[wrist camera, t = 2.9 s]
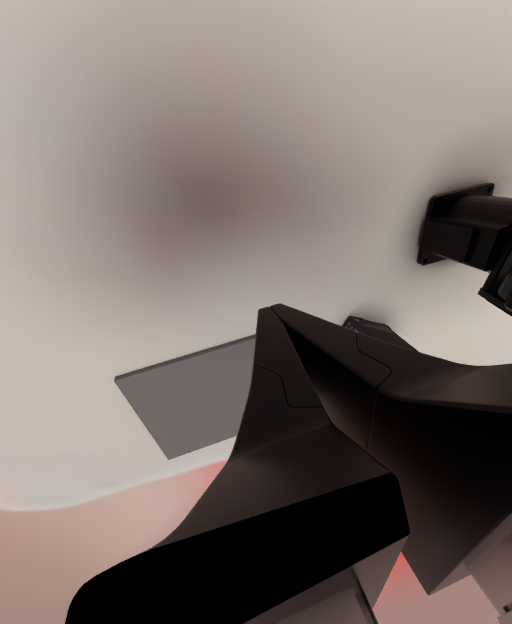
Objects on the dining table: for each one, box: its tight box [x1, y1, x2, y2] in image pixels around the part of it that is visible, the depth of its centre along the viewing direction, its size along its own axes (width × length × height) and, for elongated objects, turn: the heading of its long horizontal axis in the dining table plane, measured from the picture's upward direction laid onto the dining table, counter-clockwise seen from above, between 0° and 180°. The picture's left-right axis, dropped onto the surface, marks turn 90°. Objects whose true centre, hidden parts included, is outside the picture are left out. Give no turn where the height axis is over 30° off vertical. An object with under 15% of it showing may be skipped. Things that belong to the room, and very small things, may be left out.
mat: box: [114, 335, 256, 460], centre depth 28 cm, size 18×14×1 cm
